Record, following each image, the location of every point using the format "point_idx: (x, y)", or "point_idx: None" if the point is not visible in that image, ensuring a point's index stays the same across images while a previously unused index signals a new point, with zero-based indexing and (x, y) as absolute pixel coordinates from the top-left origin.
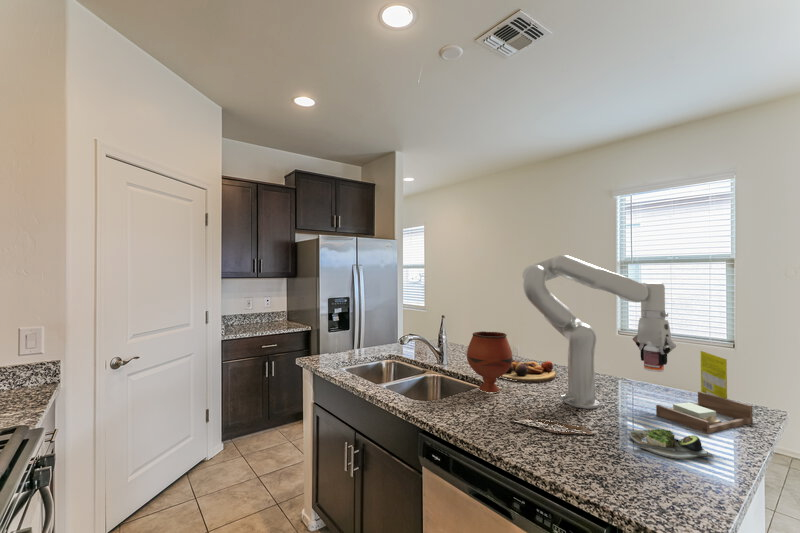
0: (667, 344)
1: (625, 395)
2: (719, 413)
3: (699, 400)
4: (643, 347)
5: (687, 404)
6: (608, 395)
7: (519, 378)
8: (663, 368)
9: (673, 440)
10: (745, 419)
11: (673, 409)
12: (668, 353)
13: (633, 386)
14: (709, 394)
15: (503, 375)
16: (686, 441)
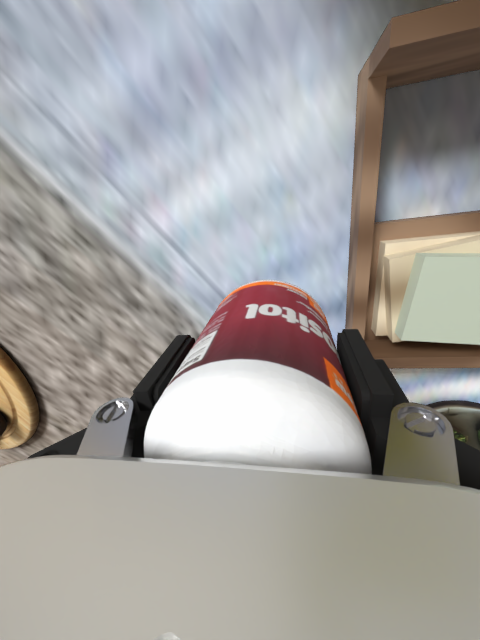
0: (475, 508)
1: (143, 243)
2: (467, 66)
3: (381, 71)
4: (134, 456)
5: (435, 291)
6: (140, 300)
7: (29, 433)
8: (325, 318)
9: (465, 442)
10: None
11: (401, 340)
12: (434, 412)
13: (27, 89)
14: (462, 8)
15: (8, 445)
16: None
